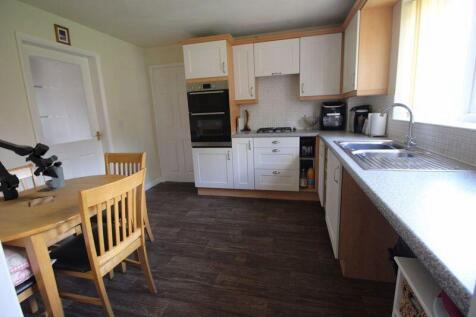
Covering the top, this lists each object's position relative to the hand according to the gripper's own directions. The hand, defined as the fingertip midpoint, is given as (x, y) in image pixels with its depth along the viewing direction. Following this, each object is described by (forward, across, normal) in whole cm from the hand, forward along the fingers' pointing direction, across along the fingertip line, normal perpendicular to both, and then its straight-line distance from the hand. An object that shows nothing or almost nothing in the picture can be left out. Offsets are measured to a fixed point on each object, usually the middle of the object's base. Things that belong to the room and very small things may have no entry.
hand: (59, 176), depth 150 cm
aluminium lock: (+4, 0, +6) cm, 7 cm away
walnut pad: (+4, -9, +15) cm, 18 cm away
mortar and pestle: (-2, +16, +21) cm, 27 cm away
